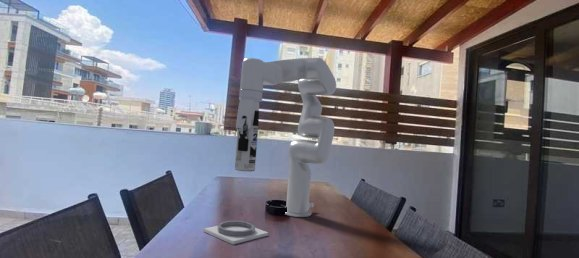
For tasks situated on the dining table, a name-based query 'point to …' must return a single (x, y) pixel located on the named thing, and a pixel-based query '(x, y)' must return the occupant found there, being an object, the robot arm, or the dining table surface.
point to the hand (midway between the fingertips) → (246, 150)
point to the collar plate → (234, 239)
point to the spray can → (248, 158)
